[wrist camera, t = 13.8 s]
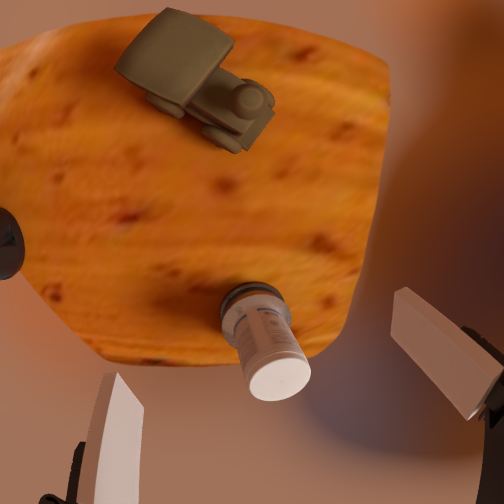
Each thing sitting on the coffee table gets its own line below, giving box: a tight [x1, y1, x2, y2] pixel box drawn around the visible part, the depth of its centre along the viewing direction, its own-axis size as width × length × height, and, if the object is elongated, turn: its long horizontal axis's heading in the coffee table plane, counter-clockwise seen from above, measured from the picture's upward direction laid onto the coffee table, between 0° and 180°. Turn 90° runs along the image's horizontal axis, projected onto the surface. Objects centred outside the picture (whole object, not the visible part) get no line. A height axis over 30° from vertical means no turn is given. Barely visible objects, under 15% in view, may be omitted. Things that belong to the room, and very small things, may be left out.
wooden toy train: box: [114, 8, 275, 154], centre depth 31 cm, size 20×11×17 cm, turn 55°
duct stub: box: [220, 282, 291, 349], centre depth 51 cm, size 13×13×5 cm
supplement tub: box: [233, 305, 311, 401], centre depth 42 cm, size 10×10×15 cm
